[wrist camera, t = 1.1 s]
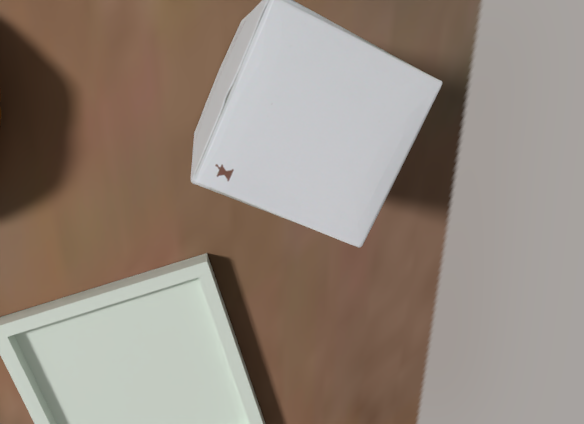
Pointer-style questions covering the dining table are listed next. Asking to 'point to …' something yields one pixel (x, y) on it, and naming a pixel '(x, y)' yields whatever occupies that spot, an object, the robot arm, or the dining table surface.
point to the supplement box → (309, 121)
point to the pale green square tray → (132, 353)
